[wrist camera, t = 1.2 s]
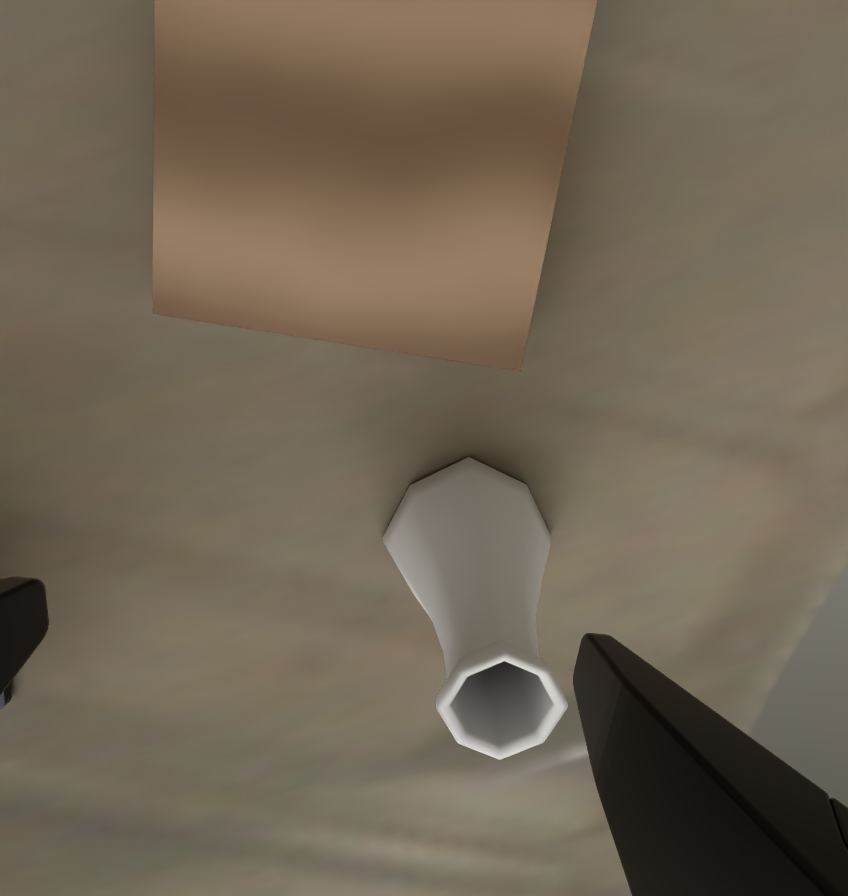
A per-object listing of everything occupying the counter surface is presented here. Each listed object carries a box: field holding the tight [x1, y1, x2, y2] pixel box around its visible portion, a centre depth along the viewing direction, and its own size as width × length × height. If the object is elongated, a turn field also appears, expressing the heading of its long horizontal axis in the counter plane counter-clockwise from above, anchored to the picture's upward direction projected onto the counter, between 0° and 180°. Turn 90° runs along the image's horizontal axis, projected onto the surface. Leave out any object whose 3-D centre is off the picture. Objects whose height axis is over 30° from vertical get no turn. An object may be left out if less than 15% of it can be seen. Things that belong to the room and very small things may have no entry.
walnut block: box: [153, 0, 597, 372], centre depth 16 cm, size 12×12×4 cm
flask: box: [382, 457, 568, 760], centre depth 17 cm, size 7×7×10 cm
